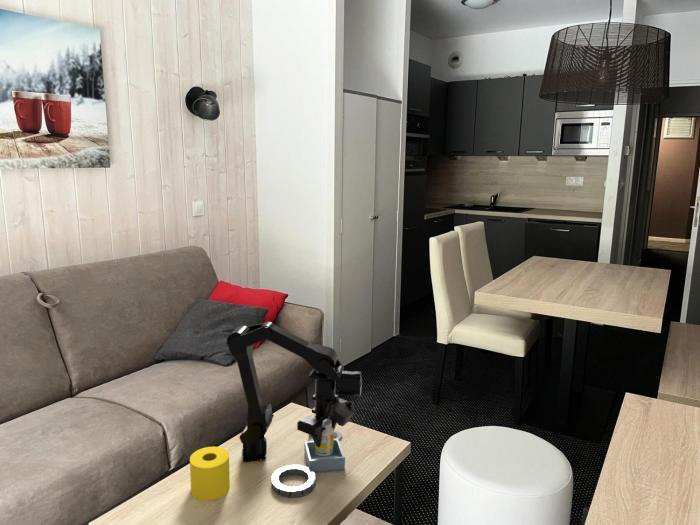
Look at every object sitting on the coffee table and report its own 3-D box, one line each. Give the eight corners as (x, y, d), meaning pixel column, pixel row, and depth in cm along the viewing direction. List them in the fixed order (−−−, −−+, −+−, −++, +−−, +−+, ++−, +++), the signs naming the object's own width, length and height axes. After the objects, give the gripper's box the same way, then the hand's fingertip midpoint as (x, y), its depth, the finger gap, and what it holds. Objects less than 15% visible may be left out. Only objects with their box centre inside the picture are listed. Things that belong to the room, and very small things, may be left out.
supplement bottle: (319, 458, 153) (320, 427, 151) (311, 449, 157) (312, 419, 155) (336, 453, 155) (337, 423, 153) (327, 444, 160) (328, 415, 158)
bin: (309, 473, 151) (309, 461, 150) (304, 453, 161) (304, 441, 160) (344, 470, 153) (345, 457, 153) (337, 450, 163) (338, 438, 162)
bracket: (336, 445, 167) (336, 435, 166) (307, 437, 171) (307, 428, 170) (345, 435, 173) (345, 425, 172) (317, 428, 177) (317, 418, 176)
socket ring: (273, 500, 139) (273, 493, 139) (270, 473, 151) (270, 467, 150) (318, 495, 142) (318, 488, 142) (311, 469, 153) (311, 463, 153)
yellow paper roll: (190, 503, 137) (189, 470, 135) (191, 480, 147) (190, 449, 145) (230, 497, 140) (230, 465, 138) (228, 475, 149) (228, 444, 148)
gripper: (330, 413, 141) (328, 466, 144) (366, 388, 156) (364, 436, 159) (296, 401, 146) (295, 453, 150) (334, 378, 162) (333, 425, 165)
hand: (323, 442), depth 156 cm, fingers closed on supplement bottle, 5 cm apart
